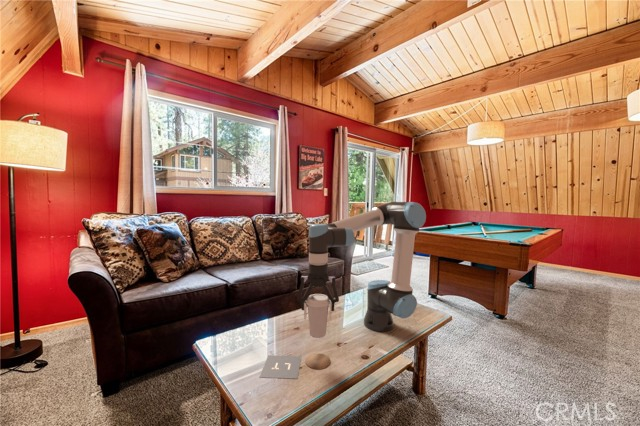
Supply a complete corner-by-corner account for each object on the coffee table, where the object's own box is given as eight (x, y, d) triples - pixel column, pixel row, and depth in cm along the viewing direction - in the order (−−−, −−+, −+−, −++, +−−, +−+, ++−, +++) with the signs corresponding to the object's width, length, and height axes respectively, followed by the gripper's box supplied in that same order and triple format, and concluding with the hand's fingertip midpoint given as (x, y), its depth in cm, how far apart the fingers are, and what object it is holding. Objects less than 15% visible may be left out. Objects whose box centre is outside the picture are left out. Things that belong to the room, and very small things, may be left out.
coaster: (330, 354, 115) (330, 353, 115) (330, 369, 105) (330, 368, 105) (306, 354, 116) (306, 353, 116) (304, 368, 106) (304, 367, 106)
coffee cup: (305, 328, 114) (305, 293, 113) (328, 327, 115) (328, 292, 114) (306, 340, 105) (306, 302, 104) (331, 339, 105) (331, 301, 105)
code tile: (301, 356, 114) (301, 356, 114) (297, 378, 100) (297, 378, 100) (268, 355, 114) (268, 355, 114) (259, 377, 100) (259, 377, 100)
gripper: (345, 261, 112) (344, 315, 113) (292, 260, 113) (291, 313, 114) (346, 265, 104) (345, 323, 105) (289, 264, 105) (289, 321, 106)
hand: (317, 318), depth 109 cm, fingers closed on coffee cup, 9 cm apart
